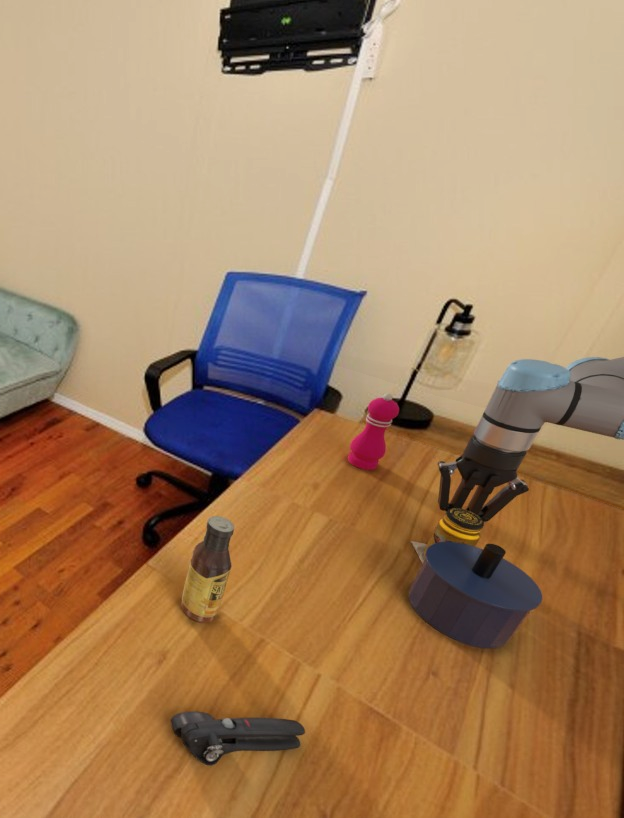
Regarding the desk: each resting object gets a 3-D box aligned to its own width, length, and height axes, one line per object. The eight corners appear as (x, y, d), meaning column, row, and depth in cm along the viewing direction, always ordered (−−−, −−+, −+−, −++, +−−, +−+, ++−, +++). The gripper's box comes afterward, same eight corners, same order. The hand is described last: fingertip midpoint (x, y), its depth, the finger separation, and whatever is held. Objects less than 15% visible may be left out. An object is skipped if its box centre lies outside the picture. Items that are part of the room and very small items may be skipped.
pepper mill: (374, 474, 125) (403, 404, 116) (341, 462, 130) (366, 393, 120) (382, 463, 129) (411, 394, 120) (350, 451, 134) (375, 384, 125)
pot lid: (533, 571, 86) (552, 542, 83) (545, 631, 76) (567, 600, 73) (424, 534, 94) (438, 507, 91) (422, 583, 84) (438, 554, 81)
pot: (505, 608, 90) (531, 569, 85) (512, 664, 80) (542, 624, 76) (409, 572, 97) (429, 534, 93) (406, 619, 88) (427, 580, 84)
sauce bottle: (209, 631, 87) (233, 545, 78) (174, 611, 90) (193, 526, 81) (222, 607, 91) (247, 523, 82) (189, 589, 95) (208, 506, 86)
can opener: (182, 772, 68) (189, 749, 65) (165, 719, 74) (171, 695, 71) (314, 770, 68) (326, 747, 65) (286, 717, 74) (296, 694, 71)
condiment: (426, 571, 98) (451, 523, 92) (410, 541, 105) (432, 495, 99) (472, 580, 95) (501, 532, 90) (453, 549, 102) (478, 503, 97)
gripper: (542, 442, 91) (485, 540, 102) (450, 423, 97) (405, 518, 108) (555, 463, 86) (493, 564, 96) (456, 441, 92) (408, 539, 103)
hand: (446, 539), depth 102 cm, fingers closed
